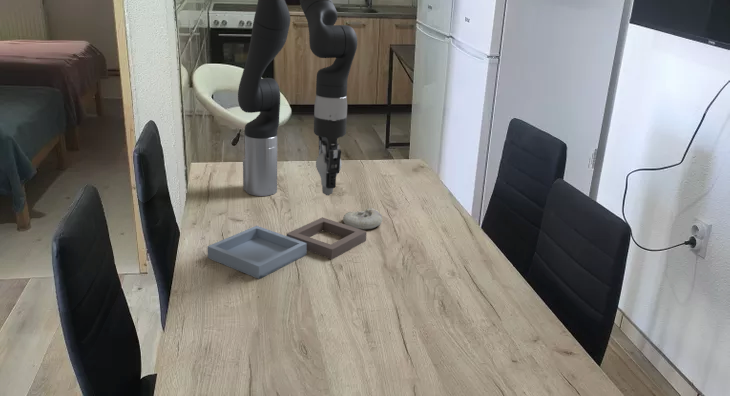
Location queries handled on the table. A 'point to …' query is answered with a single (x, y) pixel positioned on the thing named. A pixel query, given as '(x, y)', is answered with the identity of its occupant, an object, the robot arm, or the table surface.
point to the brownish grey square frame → (324, 249)
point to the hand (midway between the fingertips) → (327, 183)
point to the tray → (257, 251)
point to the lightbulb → (324, 173)
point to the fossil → (363, 219)
